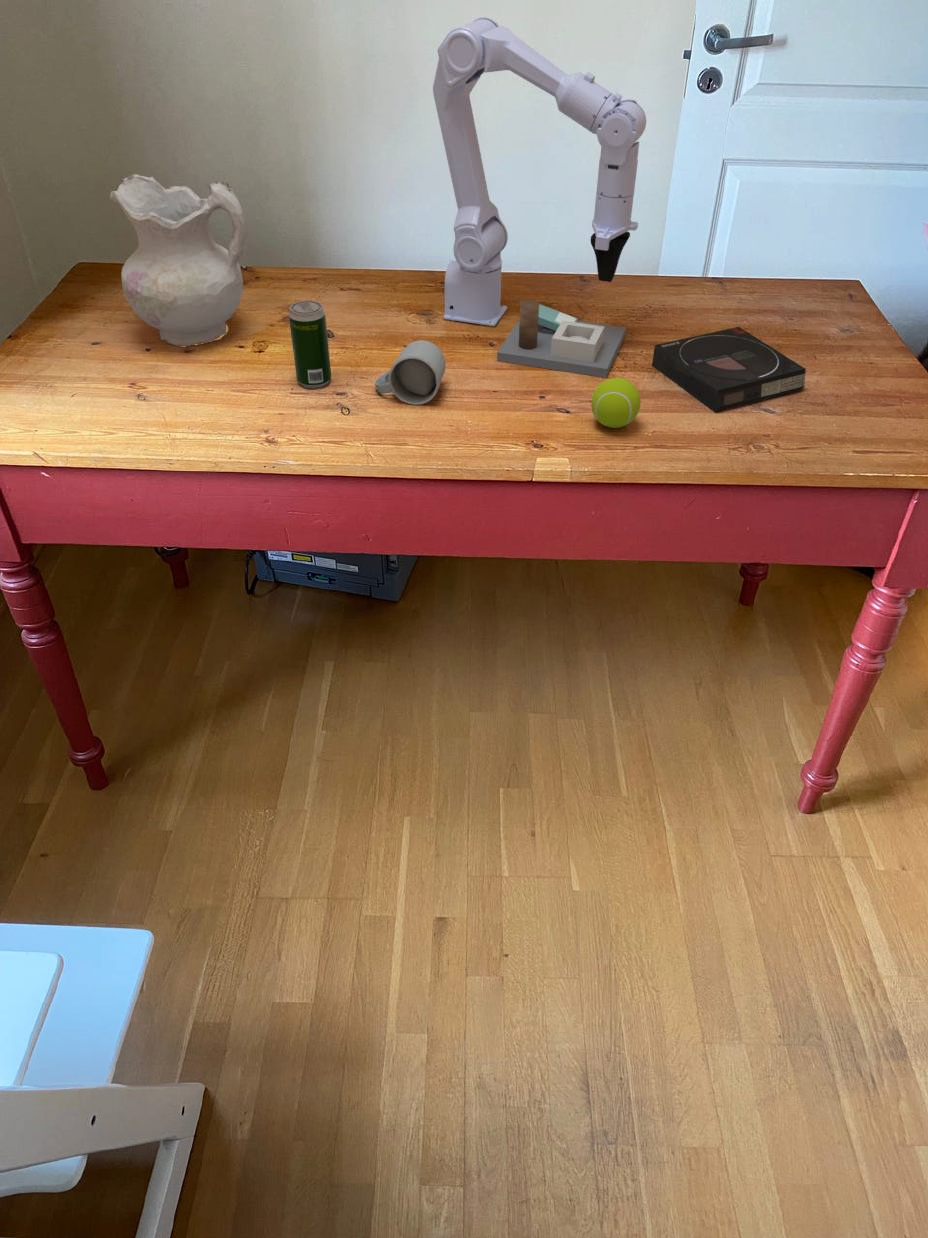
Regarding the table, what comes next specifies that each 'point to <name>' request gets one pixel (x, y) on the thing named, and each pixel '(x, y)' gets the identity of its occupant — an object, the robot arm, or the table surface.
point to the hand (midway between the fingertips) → (605, 279)
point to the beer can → (310, 344)
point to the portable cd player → (728, 368)
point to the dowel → (528, 324)
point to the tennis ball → (616, 402)
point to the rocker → (553, 317)
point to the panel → (567, 348)
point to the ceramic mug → (414, 373)
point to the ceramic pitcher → (181, 259)
